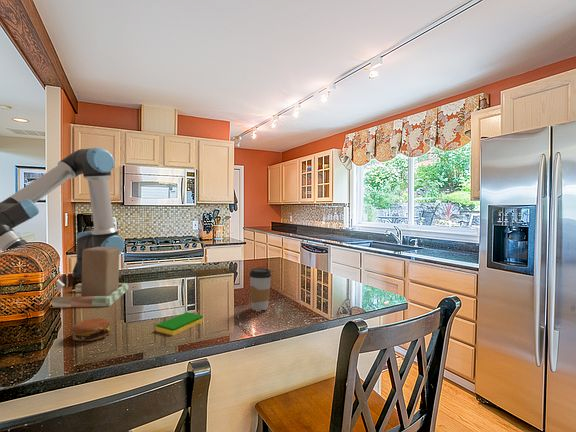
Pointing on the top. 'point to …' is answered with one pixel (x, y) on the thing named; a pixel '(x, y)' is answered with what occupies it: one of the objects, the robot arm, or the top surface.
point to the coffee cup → (259, 288)
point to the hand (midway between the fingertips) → (61, 287)
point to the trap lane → (90, 298)
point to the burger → (91, 329)
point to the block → (100, 271)
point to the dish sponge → (179, 323)
